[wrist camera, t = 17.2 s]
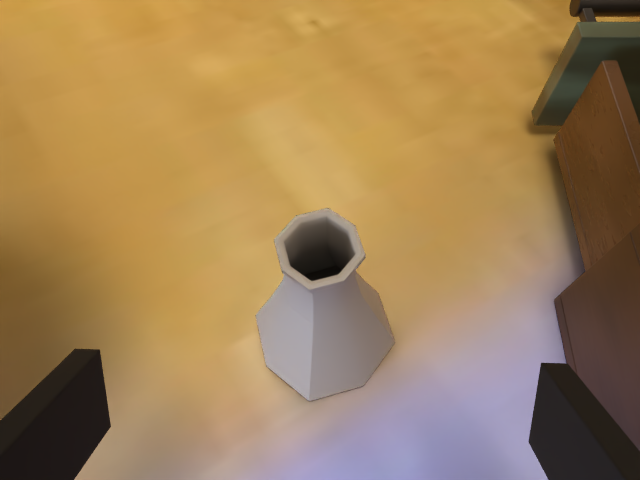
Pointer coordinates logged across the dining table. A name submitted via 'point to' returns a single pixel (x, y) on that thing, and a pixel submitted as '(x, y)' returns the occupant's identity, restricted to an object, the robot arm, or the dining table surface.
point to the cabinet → (607, 331)
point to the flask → (323, 309)
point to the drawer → (598, 123)
